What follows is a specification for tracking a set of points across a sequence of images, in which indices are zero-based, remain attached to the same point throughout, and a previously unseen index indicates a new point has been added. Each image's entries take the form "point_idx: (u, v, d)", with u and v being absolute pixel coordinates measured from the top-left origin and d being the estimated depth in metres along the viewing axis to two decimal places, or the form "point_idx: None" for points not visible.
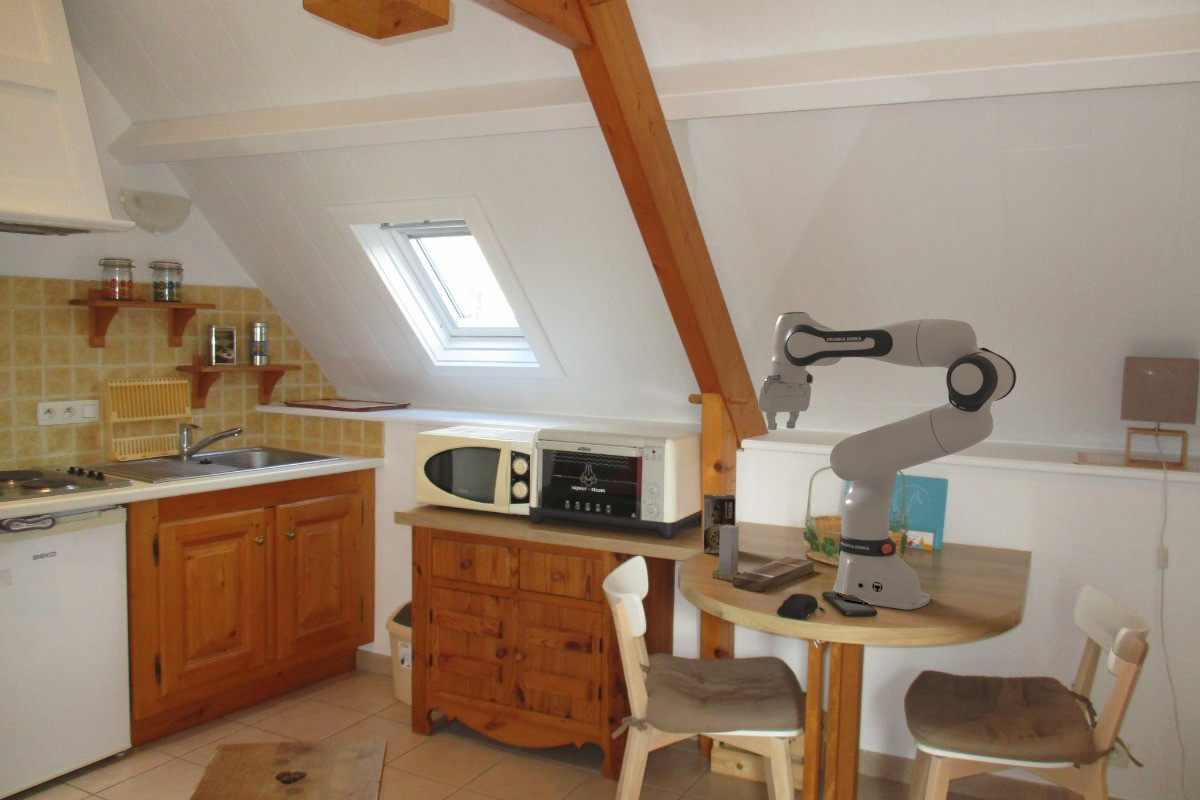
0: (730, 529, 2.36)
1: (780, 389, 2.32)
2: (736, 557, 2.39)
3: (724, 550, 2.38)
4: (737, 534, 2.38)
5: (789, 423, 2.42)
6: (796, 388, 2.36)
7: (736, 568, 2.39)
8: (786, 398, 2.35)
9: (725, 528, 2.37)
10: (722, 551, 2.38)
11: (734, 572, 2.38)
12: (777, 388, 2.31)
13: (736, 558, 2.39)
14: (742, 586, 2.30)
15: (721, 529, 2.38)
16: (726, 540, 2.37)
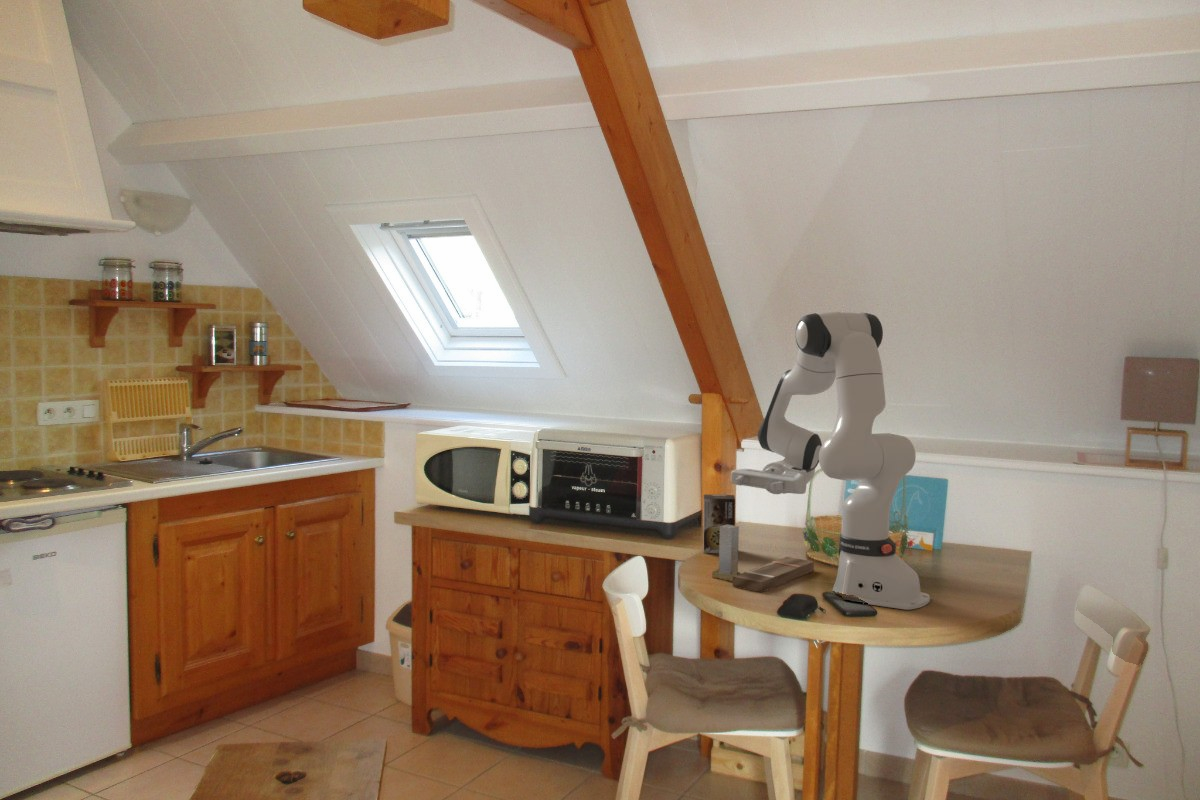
0: (730, 529, 2.36)
1: (753, 470, 2.58)
2: (736, 557, 2.39)
3: (724, 550, 2.38)
4: (737, 534, 2.38)
5: None
6: (772, 467, 2.55)
7: (736, 568, 2.39)
8: (761, 473, 2.54)
9: (725, 528, 2.37)
10: (721, 551, 2.38)
11: (734, 572, 2.38)
12: (749, 469, 2.59)
13: (736, 558, 2.39)
14: (742, 586, 2.30)
15: (721, 529, 2.38)
16: (726, 540, 2.37)
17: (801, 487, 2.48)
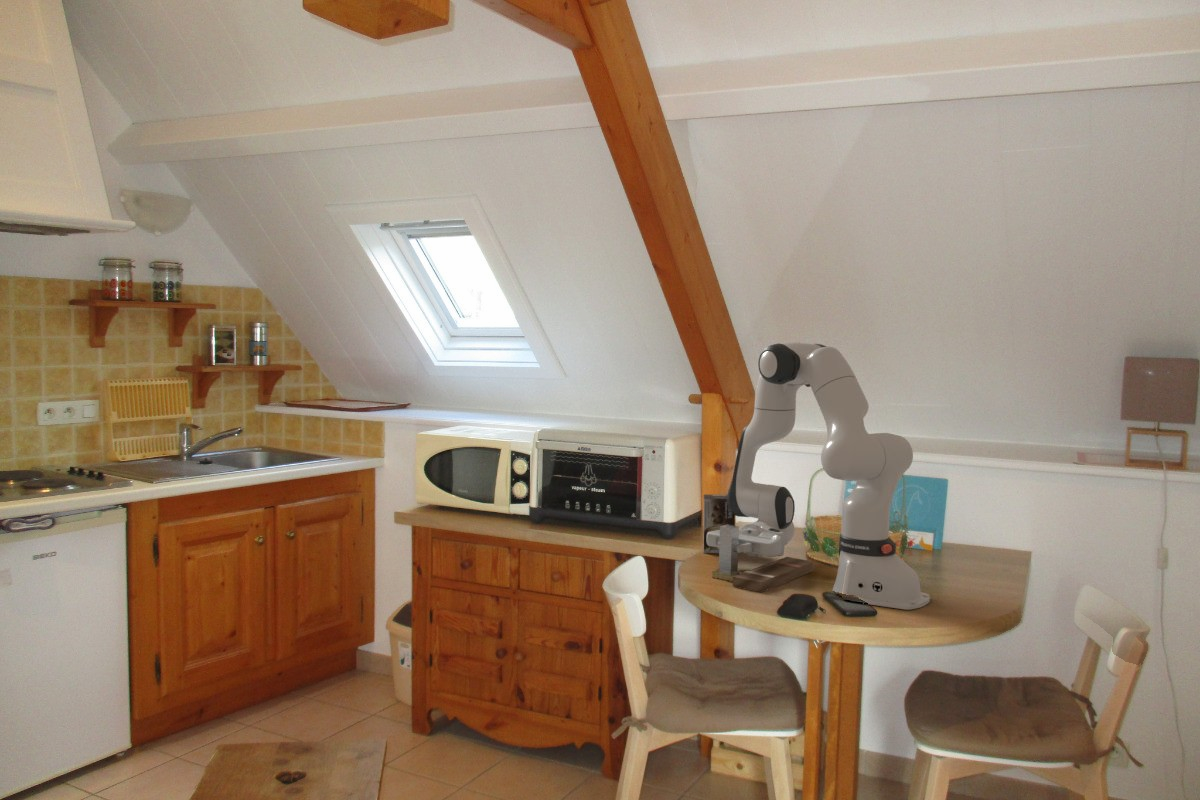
0: (730, 529, 2.36)
1: None
2: (736, 557, 2.39)
3: (724, 550, 2.38)
4: (737, 534, 2.38)
5: None
6: (749, 529, 2.47)
7: (736, 568, 2.39)
8: None
9: (725, 528, 2.37)
10: (722, 551, 2.38)
11: (734, 572, 2.38)
12: None
13: (736, 558, 2.39)
14: (742, 586, 2.30)
15: (721, 529, 2.38)
16: (726, 540, 2.37)
17: (778, 550, 2.39)
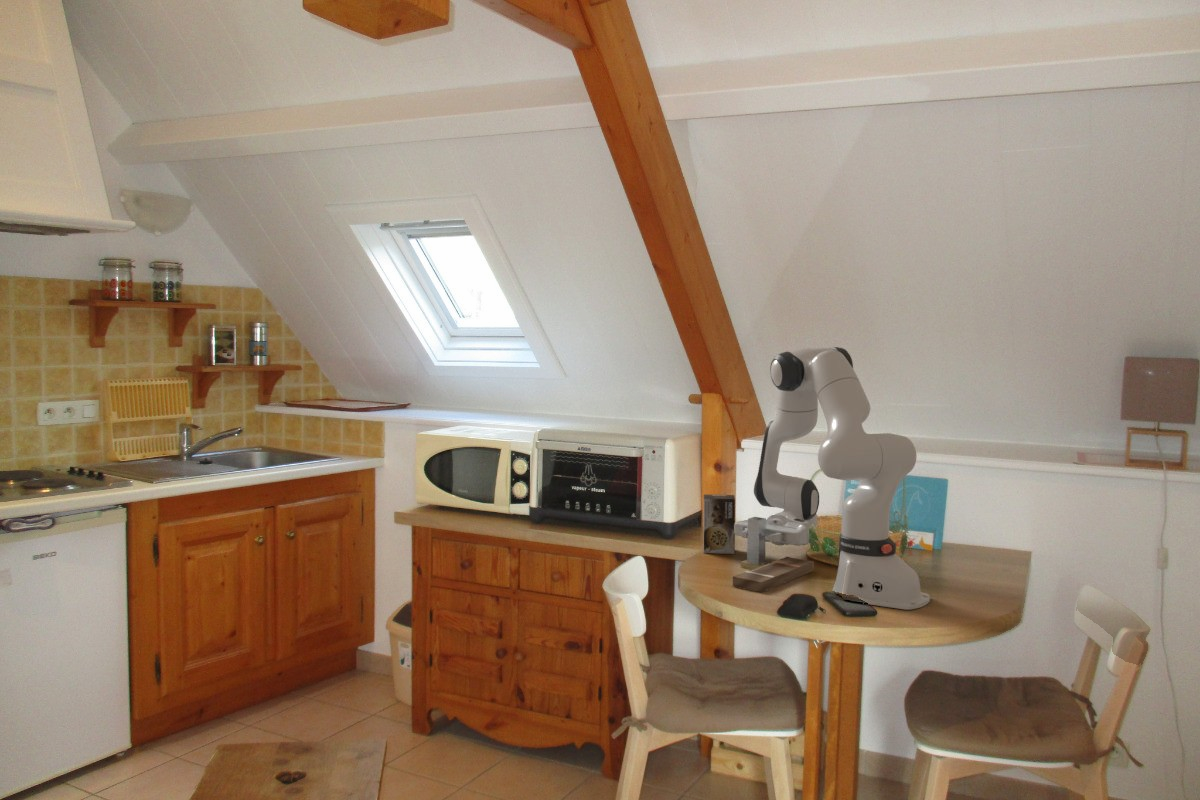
0: (758, 521, 2.47)
1: None
2: (763, 548, 2.49)
3: (752, 541, 2.48)
4: (765, 526, 2.49)
5: None
6: (775, 519, 2.57)
7: (763, 558, 2.50)
8: None
9: (753, 520, 2.48)
10: (750, 542, 2.49)
11: (762, 562, 2.49)
12: None
13: (763, 549, 2.49)
14: (742, 586, 2.30)
15: (749, 521, 2.49)
16: (754, 531, 2.48)
17: (803, 539, 2.50)
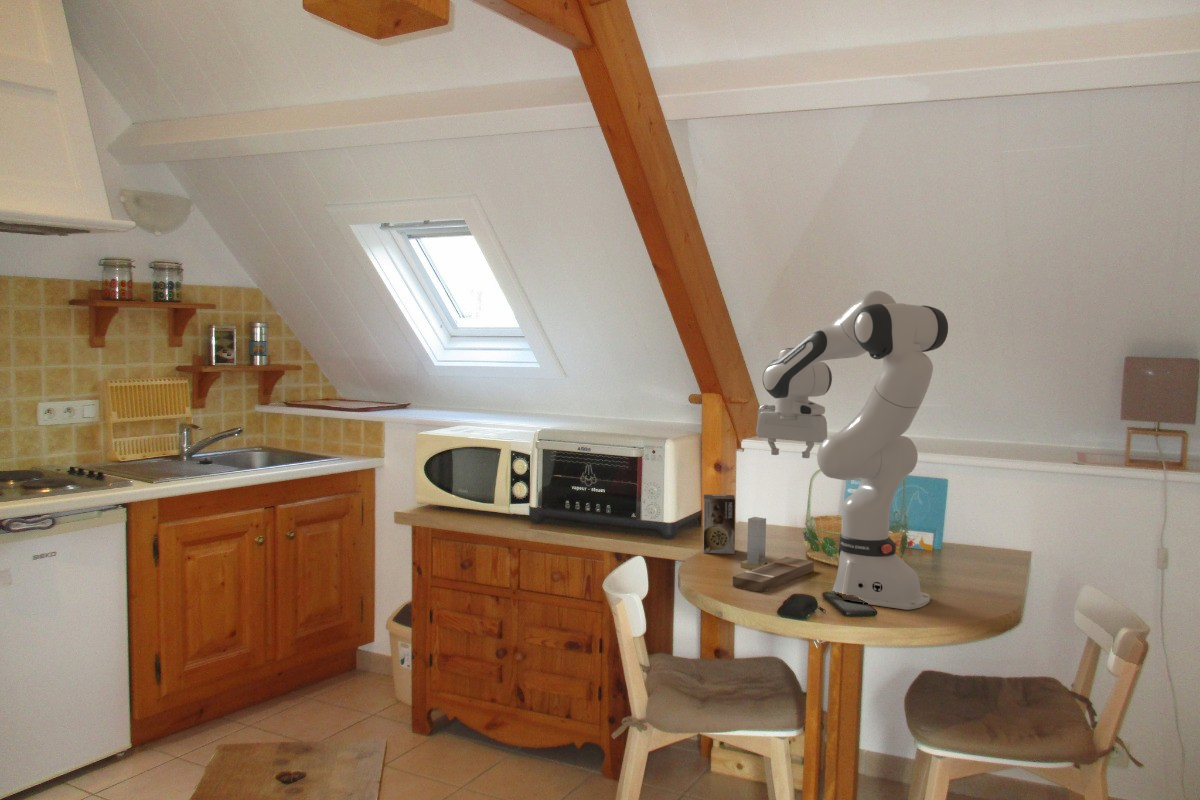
0: (758, 521, 2.47)
1: (769, 417, 2.59)
2: (763, 548, 2.49)
3: (752, 541, 2.48)
4: (765, 526, 2.49)
5: None
6: (785, 417, 2.54)
7: (763, 558, 2.50)
8: (781, 427, 2.57)
9: (753, 520, 2.48)
10: (750, 542, 2.49)
11: (762, 562, 2.49)
12: (765, 416, 2.60)
13: (764, 549, 2.49)
14: (742, 586, 2.30)
15: (749, 521, 2.49)
16: (755, 531, 2.48)
17: (825, 428, 2.51)
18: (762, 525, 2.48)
